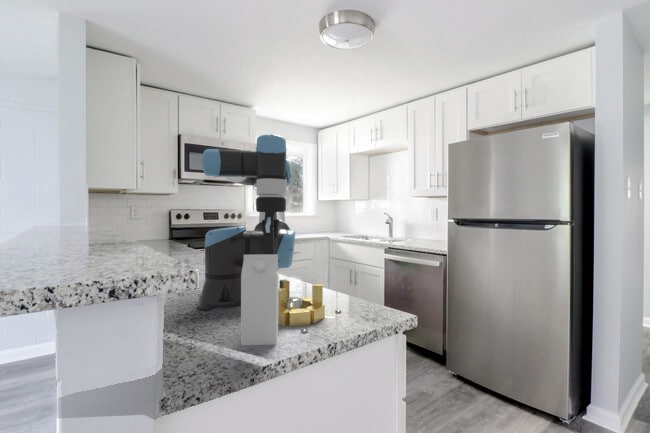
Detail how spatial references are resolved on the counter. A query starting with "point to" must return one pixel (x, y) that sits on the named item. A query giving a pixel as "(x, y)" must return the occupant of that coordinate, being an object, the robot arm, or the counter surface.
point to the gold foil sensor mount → (310, 306)
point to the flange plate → (300, 307)
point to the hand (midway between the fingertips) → (270, 288)
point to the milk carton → (259, 300)
